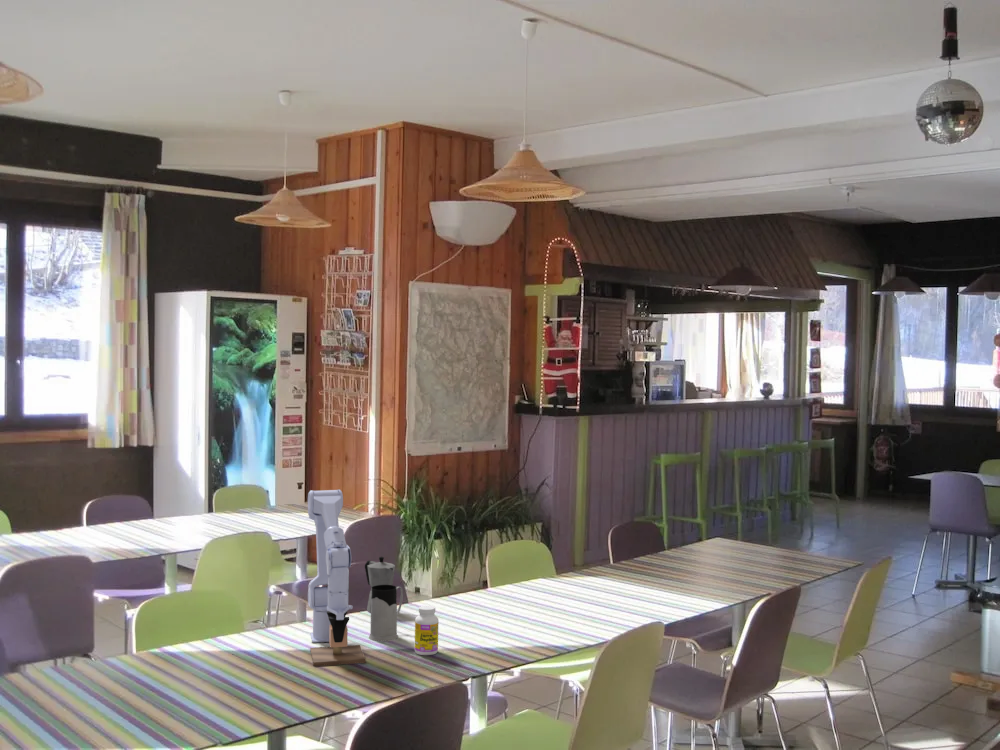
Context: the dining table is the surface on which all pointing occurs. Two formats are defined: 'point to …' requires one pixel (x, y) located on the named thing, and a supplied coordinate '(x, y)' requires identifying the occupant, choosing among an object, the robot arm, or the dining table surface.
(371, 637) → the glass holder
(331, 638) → the peach tilted cube
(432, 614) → the supplement bottle
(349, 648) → the post base
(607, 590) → the dining table surface
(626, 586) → the dining table surface
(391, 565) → the coffeepot
